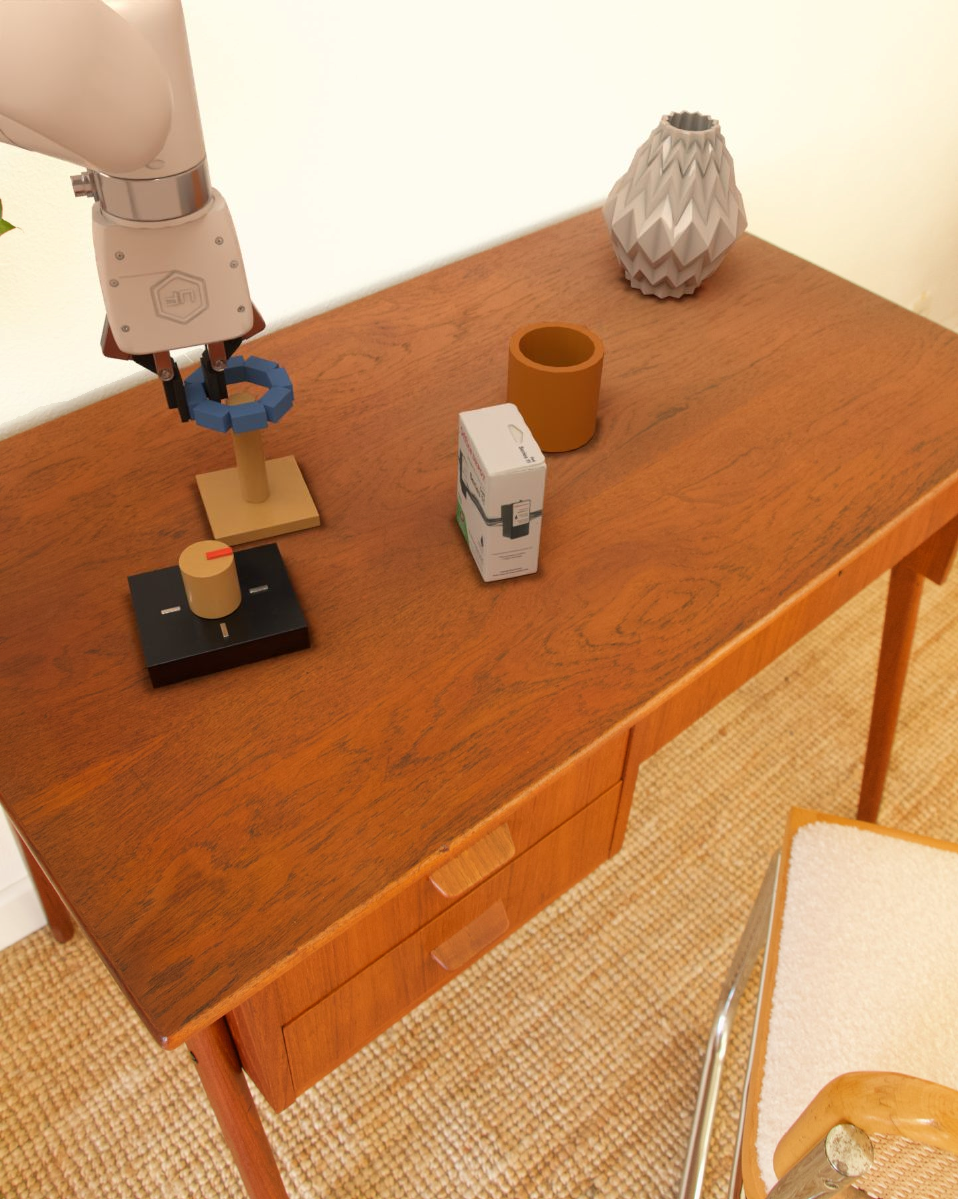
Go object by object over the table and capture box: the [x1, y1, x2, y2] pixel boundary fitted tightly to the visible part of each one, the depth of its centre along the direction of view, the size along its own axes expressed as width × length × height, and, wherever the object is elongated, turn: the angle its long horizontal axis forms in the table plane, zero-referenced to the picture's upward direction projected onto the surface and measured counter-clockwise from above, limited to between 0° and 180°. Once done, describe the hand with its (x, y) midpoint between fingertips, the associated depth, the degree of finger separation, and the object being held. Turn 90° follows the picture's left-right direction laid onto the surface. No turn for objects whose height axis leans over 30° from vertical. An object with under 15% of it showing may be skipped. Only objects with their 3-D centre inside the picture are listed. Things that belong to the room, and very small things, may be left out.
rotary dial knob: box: [178, 539, 242, 619], centre depth 77 cm, size 4×4×5 cm
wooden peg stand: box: [195, 391, 321, 547], centre depth 87 cm, size 9×9×11 cm
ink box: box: [456, 402, 548, 583], centre depth 84 cm, size 9×5×12 cm, turn 17°
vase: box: [601, 109, 749, 300], centre depth 114 cm, size 16×16×18 cm
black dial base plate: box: [126, 542, 311, 689], centre depth 80 cm, size 12×10×3 cm
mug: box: [506, 321, 606, 453], centre depth 98 cm, size 9×12×9 cm
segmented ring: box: [183, 354, 295, 434], centre depth 82 cm, size 8×8×2 cm
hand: (199, 407), depth 82 cm, fingers closed on segmented ring, 2 cm apart
